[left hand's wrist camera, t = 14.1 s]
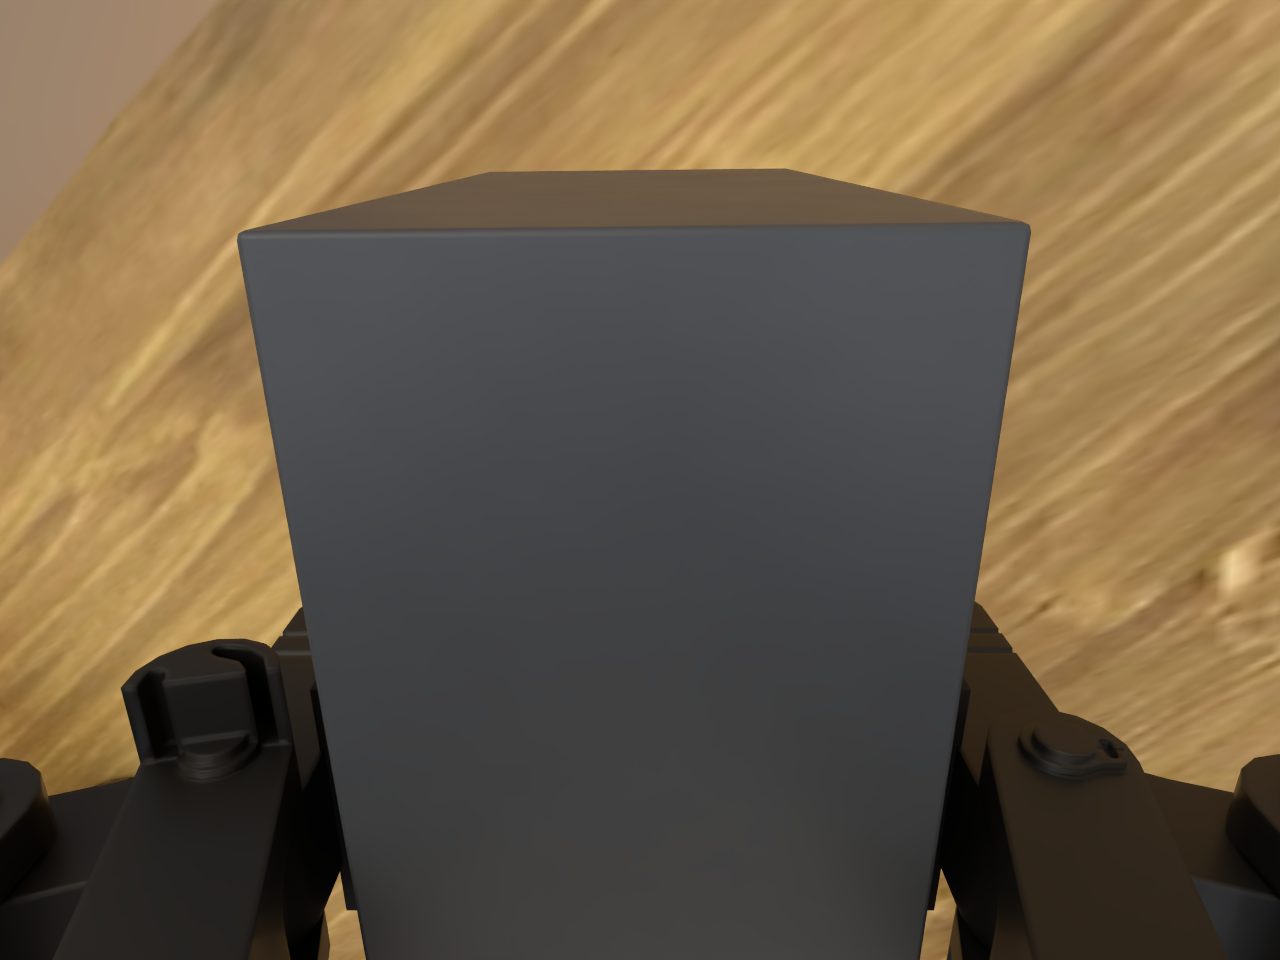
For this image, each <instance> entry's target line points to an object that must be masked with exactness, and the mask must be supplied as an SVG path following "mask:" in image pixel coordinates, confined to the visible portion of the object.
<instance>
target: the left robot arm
mask: <svg viewBox="0 0 1280 960" xmlns="http://www.w3.org/2000/svg"><path fill="white" fill-rule="evenodd" d="M121 691H122V695H123V698H124V702H125V706H126V710H127V714H128V717H129V721H130V725H131V729H132V733H133V736H134V740H135V744H136V748H137V752H138V755H139V759H140V763H141V764H140V766H139V768H138V771H137V773H136V775H135V777H130V778H121V779H116V780H112V781H108V782H105V783H102V784H99V785H97V786H94V787H90V788H86V789H81V790H76V791H71V792H67V793H62V794H57V795H52V796H48V794H47V791H46V788H45V785H44V782H43V779H42V776H41V773H40V772H39V771H38V770H37V769H36V768H34V767H33V766H32V765H31V764H30V763H28V762H26V761H19V760H13V759H7V758H0V960H328V959H329V950H330V942H329V935H328V927H327V922H326V916H325V911H324V909H325V906H326V904H327V901H328V899H329V896H330V894H331V892H332V889H333V887H334V884H335V882H336V879H337V877H338V875H339V872H340V873H341V879H342V885H343V891H344V897H345V903H346V909H347V910H357V906H356V901H355V895H354V890H353V884H352V878H351V873H350V867H349V862H348V856H347V851H346V845H345V839H344V834H343V828H342V823H341V817H340V812H339V806H338V800H337V795H336V789H335V784H334V778H333V773H332V767H331V761H330V756H329V750H328V745H327V739H326V734H325V728H324V722H323V717H322V711H321V706H320V700H319V695H318V689H317V683H316V678H315V672H314V667H313V661H312V656H311V650H310V644H309V639H308V633H307V628H306V622H305V617H304V611H303V607H302V608H300V609H299V610H298V612H297V613H296V614H295V616H294V617H293V619H292V620H291V621H290V623H289V624H288V625H287V627H286V628H285V630H284V631H283V636H279V638H278V639H277V641H276V642H275V643H274V645H273V646H272V647H271V648H270V647H269V646H268V645H267V644H264V643H260V642H256V641H252V640H248V639H216V640H211V641H207V642H202V643H197V644H192V645H187V646H185V647H182V648H180V649H177V650H174V651H172V652H169V653H167V654H164V655H161V656H159V657H157V658H156V659H154V660H153V661H151V662H149V663H148V664H146V665H145V666H143V667H141V668H140V669H138V670H137V671H135V672H134V673H133V675H132V676H131V677H130V678H129V679H128V680H127V681H126V682H125V684H124V685H123V686H122V687H121ZM941 869H942V871H943V873H944V876H945V878H946V881H947V883H948V886H949V888H950V890H951V893H952V895H953V898H954V900H955V902H956V911H955V916H954V922H953V927H952V933H951V938H950V944H949V949H948V955H947V960H1280V754H1277V755H1271V756H1264V757H1258V758H1254V759H1253V760H1252V761H1250V762H1249V763H1248V764H1247V765H1245V766H1244V767H1243V768H1242V769H1241V772H1240V775H1239V778H1238V781H1237V785H1236V788H1235V791H1234V793H1232V792H1227V791H1223V790H1218V789H1213V788H1208V787H1203V786H1199V785H1194V784H1189V783H1184V782H1179V781H1175V780H1170V779H1166V778H1162V777H1158V776H1155V775H1151V774H1147V773H1144V771H1143V769H1142V767H1141V765H1140V762H1139V761H1138V760H1137V758H1136V757H1135V756H1134V754H1133V753H1132V752H1131V750H1130V749H1129V748H1128V746H1127V745H1126V744H1125V743H1123V742H1122V741H1121V740H1119V739H1118V738H1117V737H1115V736H1114V735H1112V734H1111V733H1110V732H1108V731H1107V730H1106V729H1104V728H1102V727H1100V726H1098V725H1096V724H1093V723H1091V722H1089V721H1087V720H1084V719H1082V718H1080V717H1078V716H1074V715H1070V714H1066V713H1062V712H1059V711H1058V710H1057V708H1056V707H1055V705H1054V704H1053V703H1052V701H1051V700H1050V699H1049V697H1048V696H1047V695H1046V693H1045V692H1044V690H1043V689H1042V688H1041V686H1040V685H1039V684H1038V682H1037V681H1036V680H1035V678H1034V677H1033V675H1032V674H1031V673H1030V671H1029V670H1028V669H1027V667H1026V666H1025V665H1024V663H1023V662H1022V660H1021V659H1020V658H1019V656H1018V655H1017V654H1016V653H1013V652H1012V647H1011V645H1010V644H1009V643H1008V641H1007V640H1006V639H1005V637H1004V636H1003V635H1002V633H998V628H997V626H996V625H995V624H994V622H993V621H992V620H991V618H990V617H989V615H988V614H987V613H986V611H985V610H984V609H983V607H982V606H981V605H979V604H978V603H976V602H975V601H974V607H973V614H972V620H971V627H970V634H969V640H968V647H967V653H966V660H965V666H964V673H963V679H962V686H961V692H960V699H959V705H958V712H957V719H956V725H955V732H954V738H953V745H952V751H951V758H950V764H949V771H948V777H947V784H946V790H945V797H944V804H943V810H942V817H941V823H940V830H939V836H938V843H937V849H936V856H935V862H934V869H933V876H932V882H931V889H930V895H929V902H928V908H927V910H934V907H935V901H936V895H937V889H938V883H939V877H940V871H941Z"/></svg>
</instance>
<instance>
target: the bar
mask: <svg viewBox="0 0 1280 960" xmlns="http://www.w3.org/2000/svg"><path fill="white" fill-rule="evenodd" d="M1030 235H1031V230H1030V225H1029V224H1027V223H1024V222H1022V221H1017V220H1013V219H1008V218H1004V217H999V216H995V215H990V214H986V213H981V212H977V211H972V210H968V209H963V208H959V207H955V206H950V205H946V204H941V203H937V202H932V201H928V200H923V199H919V198H914V197H910V196H905V195H901V194H896V193H892V192H887V191H883V190H879V189H874V188H870V187H865V186H861V185H856V184H852V183H847V182H843V181H838V180H834V179H829V178H825V177H820V176H816V175H812V174H807V173H803V172H798V171H794V170H789V169H712V170H625V171H538V172H488V173H484V174H479V175H475V176H471V177H467V178H463V179H459V180H454V181H450V182H446V183H442V184H438V185H433V186H429V187H425V188H421V189H417V190H412V191H408V192H404V193H400V194H396V195H392V196H387V197H383V198H379V199H375V200H371V201H366V202H362V203H358V204H354V205H350V206H345V207H341V208H337V209H333V210H329V211H325V212H320V213H316V214H312V215H308V216H304V217H299V218H295V219H291V220H287V221H283V222H278V223H274V224H270V225H266V226H262V227H257V228H253V229H249V230H245V231H243V232H241V233H239V234H238V238H237V243H238V249H239V254H240V260H241V266H242V271H243V277H244V282H245V288H246V293H247V299H248V305H249V310H250V316H251V321H252V327H253V332H254V338H255V344H256V349H257V355H258V360H259V366H260V371H261V377H262V383H263V388H264V394H265V399H266V405H267V410H268V416H269V422H270V427H271V433H272V438H273V444H274V449H275V455H276V461H277V466H278V472H279V477H280V483H281V488H282V494H283V500H284V505H285V511H286V516H287V522H288V527H289V533H290V539H291V544H292V550H293V555H294V561H295V566H296V572H297V578H298V583H299V589H300V594H301V600H302V605H303V611H304V617H305V622H306V628H307V633H308V639H309V644H310V650H311V656H312V661H313V667H314V672H315V678H316V683H317V689H318V695H319V700H320V706H321V711H322V717H323V722H324V728H325V734H326V739H327V745H328V750H329V756H330V761H331V767H332V773H333V778H334V784H335V789H336V795H337V800H338V806H339V812H340V817H341V823H342V828H343V834H344V839H345V845H346V851H347V856H348V862H349V867H350V873H351V878H352V884H353V890H354V895H355V901H356V906H357V912H358V917H359V923H360V929H361V934H362V940H363V945H364V951H365V956H366V960H920V954H921V947H922V941H923V934H924V928H925V921H926V915H927V908H928V902H929V895H930V889H931V882H932V876H933V869H934V862H935V856H936V849H937V843H938V836H939V830H940V823H941V817H942V810H943V804H944V797H945V790H946V784H947V777H948V771H949V764H950V758H951V751H952V745H953V738H954V732H955V725H956V719H957V712H958V705H959V699H960V692H961V686H962V679H963V673H964V666H965V660H966V653H967V647H968V640H969V634H970V627H971V620H972V614H973V607H974V601H975V594H976V588H977V581H978V575H979V568H980V562H981V555H982V549H983V542H984V535H985V529H986V522H987V516H988V509H989V503H990V496H991V490H992V483H993V477H994V470H995V464H996V457H997V450H998V444H999V437H1000V431H1001V424H1002V418H1003V411H1004V405H1005V398H1006V392H1007V385H1008V379H1009V372H1010V365H1011V359H1012V352H1013V346H1014V339H1015V333H1016V326H1017V320H1018V313H1019V307H1020V300H1021V294H1022V287H1023V280H1024V274H1025V267H1026V261H1027V254H1028V248H1029V241H1030Z"/></svg>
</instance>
